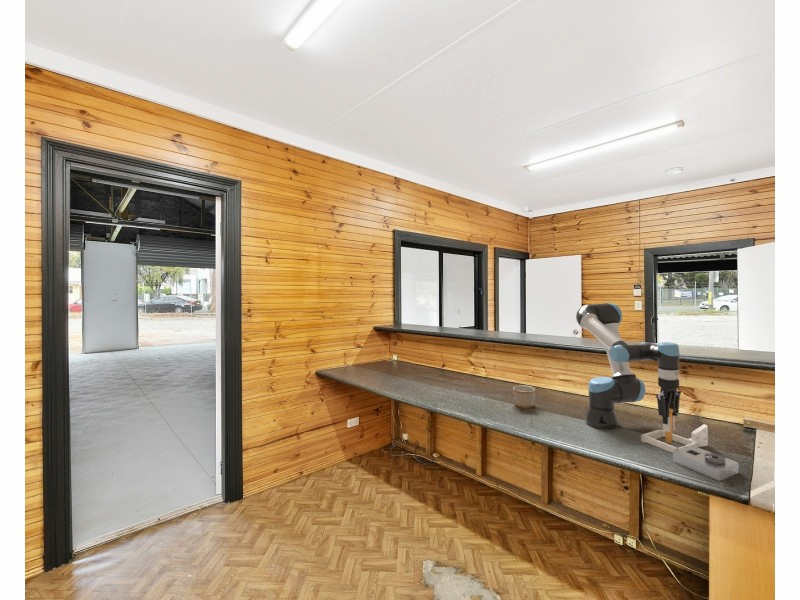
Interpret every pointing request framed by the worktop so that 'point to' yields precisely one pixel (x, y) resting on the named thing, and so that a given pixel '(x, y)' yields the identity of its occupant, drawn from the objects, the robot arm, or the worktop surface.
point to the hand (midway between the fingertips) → (668, 429)
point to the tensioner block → (706, 462)
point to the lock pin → (669, 434)
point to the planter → (524, 396)
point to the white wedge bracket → (700, 435)
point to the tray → (659, 433)
